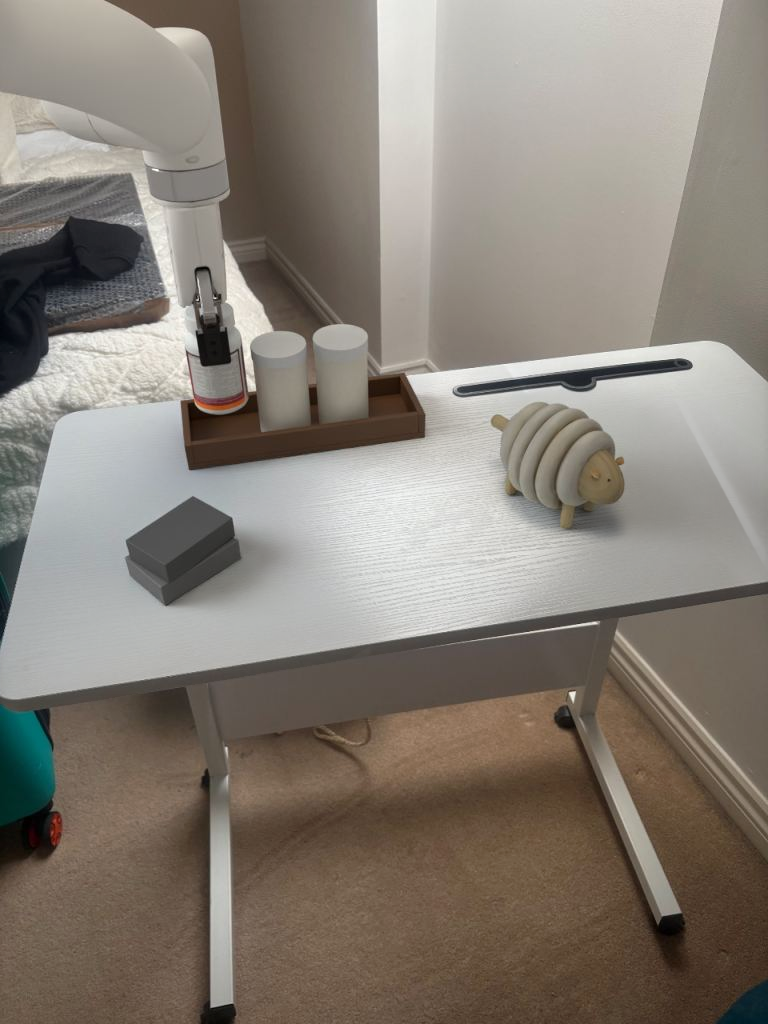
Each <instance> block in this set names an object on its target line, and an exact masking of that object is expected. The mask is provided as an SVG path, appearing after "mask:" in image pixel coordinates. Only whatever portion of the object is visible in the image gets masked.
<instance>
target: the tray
mask: <svg viewBox="0 0 768 1024" xmlns="http://www.w3.org/2000/svg"><path fill="white" fill-rule="evenodd" d="M308 387H309V400H310V414H311V426H304V427H296V428H289V429H281V430H274V431H266V432H261V427H260V418H259V410H258V402H257V393H256V390H254V391H248V401H247V403H246V404H245V405H244V406H243V407H242V408H240V409H239V410H237V411H234V412H232V413H228V414H222V415H216V414H209V413H206V412H204V411H201V410H200V409H199V408H198V407H197V406H196V404H195V402H194V398H189V399H182V400H180V402H179V403H180V412H181V423H182V424H181V425H182V434H183V446H184V452H185V457H186V463H187V469H188V470H189V471H191V470H192V471H193V470H197V469H198V470H199V469H200V470H201V469H204V468H213V467H220V466H221V467H222V466H228V465H236V464H240V463H241V464H242V463H251V462H255V461H265V460H271V459H277V458H284V457H285V458H287V457H291V456H301V455H307V454H314V453H321V452H327V451H334V450H341V449H350V448H357V447H364V446H370V445H377V444H378V445H379V444H385V443H393V442H399V441H407V440H414V439H415V440H416V439H422V438H425V436H426V412H425V410H424V408H423V406H422V404H421V402H420V401H419V398H418V396H417V394H416V392H415V390H414V388H413V387H412V384H411V383H410V381H409V378H408V377H407V375H406V373H405V372H397V373H390V374H381V375H375V376H368V412H369V418H364V419H356V420H349V421H341V422H334V423H326V424H320V423H319V415H318V399H317V384H316V383H311V384H309V383H308Z"/></svg>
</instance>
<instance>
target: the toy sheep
mask: <svg viewBox="0 0 768 1024" xmlns="http://www.w3.org/2000/svg"><path fill="white" fill-rule="evenodd" d="M490 425H491V426H492V428H495V429H496V430H498V431H500V432H502V433H501V437H500V447H499V458H500V463H501V464H502V466H503V468H504V469H505V470H506V477H505V484H504V493H506V494H507V495H509V496H510V495H511V496H512V495H515V494H516V493H517V491H519V492H520V493H522V495H523V496H524V498H525V499H526V500H528V501H529V502H531V503H534V504H541V505H543V506H544V507H546V508H548V509H553V510H554V509H555V510H556V509H557V510H558V509H561V510H560V511H561V512H560V516H559V517H560V519H559V526H560V527H561V528H562V529H564V530H566V529H570V528H572V526H573V521H574V515H575V510H576V507H578V506H582V509H583V510H584V511H586V512H593V510H594V509H595V507H596V505H597V504H598V505H603V506H604V505H606V506H607V505H612V504H615V503H617V502H618V501H619V500H620V499H621V498H622V496H623V495H624V491H625V478H624V474H623V472H622V470H621V467H620V466H622V465H624V463H625V459H624V457H623V456H618V457H617V458H616V444H615V441H614V439H613V437H612V436H611V435H610V434H609V433H608V432H606V431H604V429H603V427H602V426H601V424H600V422H598V421H597V420H595V419H593V418H590V417H589V416H588V414H587V413H586V412H585V411H583V410H581V409H579V408H571V407H569V406H567V405H565V404H563V403H551V404H549V403H547V402H545V401H535V402H532V403H529V404H527V405H525V406H524V407H522V408H521V409H519V411H518V412H517V413H515V414H514V415H513V416H511V418H510V419H509V418H507V417H505V416H503V415H502V414H494V415H492V417H491V418H490Z"/></svg>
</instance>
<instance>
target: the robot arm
mask: <svg viewBox="0 0 768 1024" xmlns="http://www.w3.org/2000/svg"><path fill="white" fill-rule="evenodd" d="M0 92H1V93H6V94H11V95H16V96H21V97H25V98H26V97H27V98H31V99H36V100H39V101H40V105H41V107H42V109H43V111H44V113H45V114H46V116H47V118H48V119H49V120H50V121H51V123H53V124H54V125H55V126H56V127H57V128H58V129H59V130H61V131H62V132H64V133H65V134H67V135H69V136H71V137H73V138H76V139H78V140H83V141H87V142H90V143H97V144H102V145H108V146H114V147H123V148H127V149H133V150H139V151H141V152H142V157H143V162H144V168H145V173H146V178H147V185H148V190H149V196H150V197H149V198H150V201H152V202H153V203H155V204H157V205H159V206H161V207H162V208H163V216H164V217H163V218H164V225H165V231H166V238H167V244H168V250H169V255H170V261H171V268H172V273H173V279H174V284H175V289H176V296H177V301H178V302H177V303H178V306H180V307H181V308H183V309H186V308H187V307H189V306H191V305H192V304H193V307H194V311H195V317H196V324H197V330H195V333H196V339H197V345H198V351H199V357H200V363H201V366H203V367H207V366H216V365H224V364H230V363H231V354H230V347H229V340H228V333H227V327H224V320H223V314H222V307H221V302H222V304H223V303H224V302H227V300H228V288H227V269H226V257H225V256H226V255H225V245H224V235H223V227H222V218H221V211H220V202H222V201H224V200H225V199H227V198H228V197H229V196H230V193H231V191H230V190H231V189H230V182H229V173H228V165H227V157H226V150H225V149H226V148H225V141H224V134H223V133H224V131H223V123H222V115H221V107H220V106H221V105H220V99H219V90H218V82H217V74H216V65H215V58H214V51H213V47H212V45H211V42H210V40H209V38H208V37H207V35H205V34H203V33H202V32H201V31H199V30H197V29H194V28H189V27H176V26H175V27H173V26H172V27H171V26H169V27H155V28H154V27H152V26H150V25H149V24H148V23H146V22H145V21H143V20H142V19H140V18H138V17H137V16H135V15H134V14H131V13H130V12H128V11H127V10H124V9H122V8H120V7H118V6H117V5H115V4H113V3H110V1H109V2H108V1H106V0H0ZM214 307H216V309H217V313H215V309H214ZM199 308H202V313H203V315H201V316H200V310H199Z"/></svg>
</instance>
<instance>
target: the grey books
mask: <svg viewBox="0 0 768 1024" xmlns="http://www.w3.org/2000/svg"><path fill="white" fill-rule="evenodd" d="M235 531H236V530H235V525H234V519H233V517H232V516H230V515H228V514H227V513H225V512H224V511H221V510H219V509H217V508H216V507H214V506H212V505H211V504H209V503H207V502H206V501H204V500H202V499H200V498H197V497H196V496H194V495H192V496H191V497H189V498H187V499H186V500H184V501H183V502H181V503H180V504H178V505H176V506H175V507H173V508H172V509H171V510H169V511H168V512H166V513H165V514H163V515H161V516H160V517H159V518H157V519H155V520H154V521H152V522H151V523H149V524H148V525H146V526H145V527H143V528H141V529H140V530H139V531H137V532H136V533H134V534H132V536H130V537H127V539H125V544H126V547H127V550H128V551H127V552H128V555H126V556H125V557H124V560H125V564H126V568H127V570H128V574H129V576H130V577H131V578H132V579H133V580H134V581H136V582H137V583H138V584H139V585H140V586H141V587H143V588H144V589H145V590H146V591H148V592H149V593H150V594H151V595H152V596H153V597H154V598H156V599H157V600H158V601H159V602H160V603H162V604H163V605H164V606H167V605H169V604H170V603H172V602H174V601H175V600H177V599H178V598H180V597H182V596H183V595H185V594H186V593H188V592H190V591H191V590H192V589H194V588H196V587H197V586H199V585H201V584H202V583H204V582H205V581H207V580H209V579H210V578H212V577H213V576H215V575H217V574H218V573H220V572H221V571H223V570H224V569H226V568H228V567H229V566H231V565H232V564H234V563H236V562H237V561H239V560H240V559H241V557H242V555H241V549H240V543H239V539H237V538H236V532H235Z"/></svg>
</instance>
